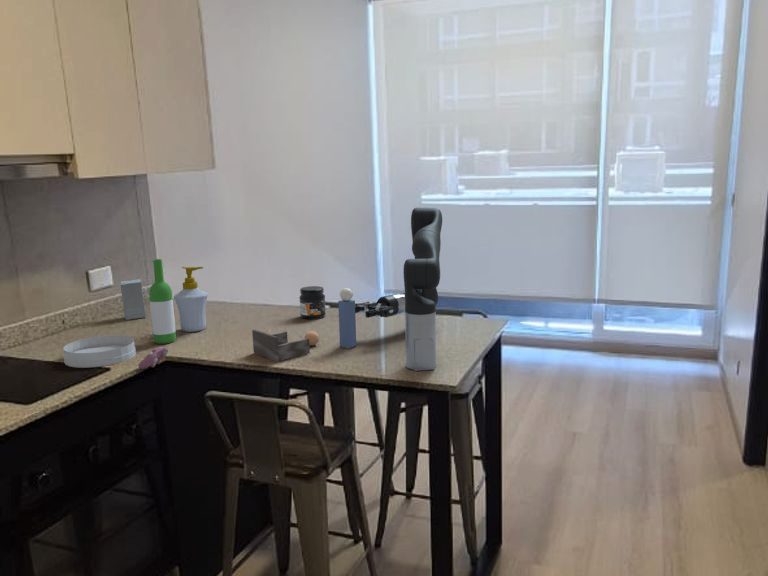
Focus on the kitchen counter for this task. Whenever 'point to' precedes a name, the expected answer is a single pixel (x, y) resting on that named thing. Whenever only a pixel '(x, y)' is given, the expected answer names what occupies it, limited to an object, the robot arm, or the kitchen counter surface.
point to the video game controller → (153, 358)
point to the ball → (312, 338)
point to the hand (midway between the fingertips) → (358, 312)
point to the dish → (99, 351)
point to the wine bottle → (161, 307)
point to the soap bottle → (191, 304)
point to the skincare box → (133, 299)
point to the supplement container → (312, 302)
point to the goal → (278, 346)
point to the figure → (347, 319)
